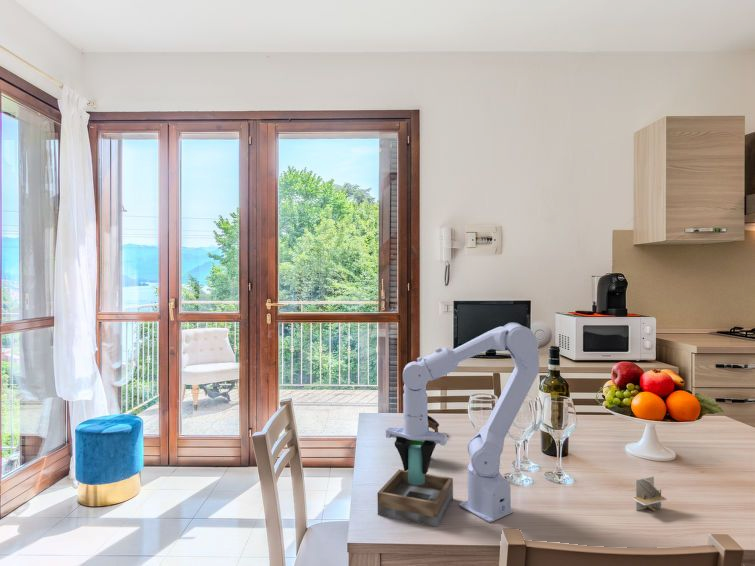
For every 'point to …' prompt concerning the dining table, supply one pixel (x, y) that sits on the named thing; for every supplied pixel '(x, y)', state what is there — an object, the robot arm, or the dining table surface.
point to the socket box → (416, 498)
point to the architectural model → (647, 494)
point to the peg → (415, 465)
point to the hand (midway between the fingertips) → (416, 470)
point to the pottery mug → (433, 424)
